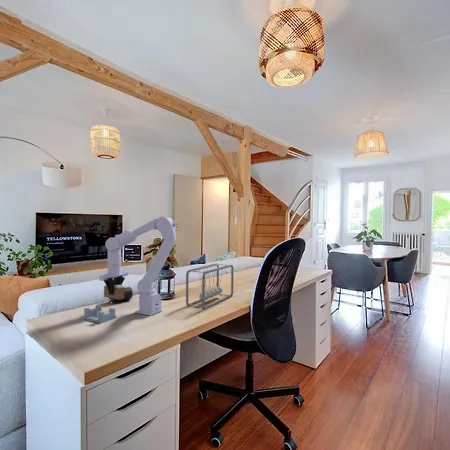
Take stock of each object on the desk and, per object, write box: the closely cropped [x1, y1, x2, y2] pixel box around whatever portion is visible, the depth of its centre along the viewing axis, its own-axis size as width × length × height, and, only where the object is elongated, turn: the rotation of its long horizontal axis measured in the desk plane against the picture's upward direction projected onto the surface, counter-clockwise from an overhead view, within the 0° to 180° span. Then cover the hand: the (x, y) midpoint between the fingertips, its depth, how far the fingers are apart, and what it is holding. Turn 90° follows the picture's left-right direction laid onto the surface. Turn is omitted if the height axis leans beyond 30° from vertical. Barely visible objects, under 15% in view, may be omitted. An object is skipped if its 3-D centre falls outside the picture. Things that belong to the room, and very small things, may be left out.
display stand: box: [82, 304, 117, 324], centre depth 117 cm, size 11×8×4 cm
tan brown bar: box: [103, 284, 125, 300], centre depth 127 cm, size 10×3×6 cm, turn 62°
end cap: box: [108, 286, 134, 304], centre depth 143 cm, size 10×7×7 cm
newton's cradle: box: [185, 262, 234, 310], centre depth 145 cm, size 30×10×18 cm, turn 151°
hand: (114, 293), depth 127 cm, fingers closed on tan brown bar, 3 cm apart
